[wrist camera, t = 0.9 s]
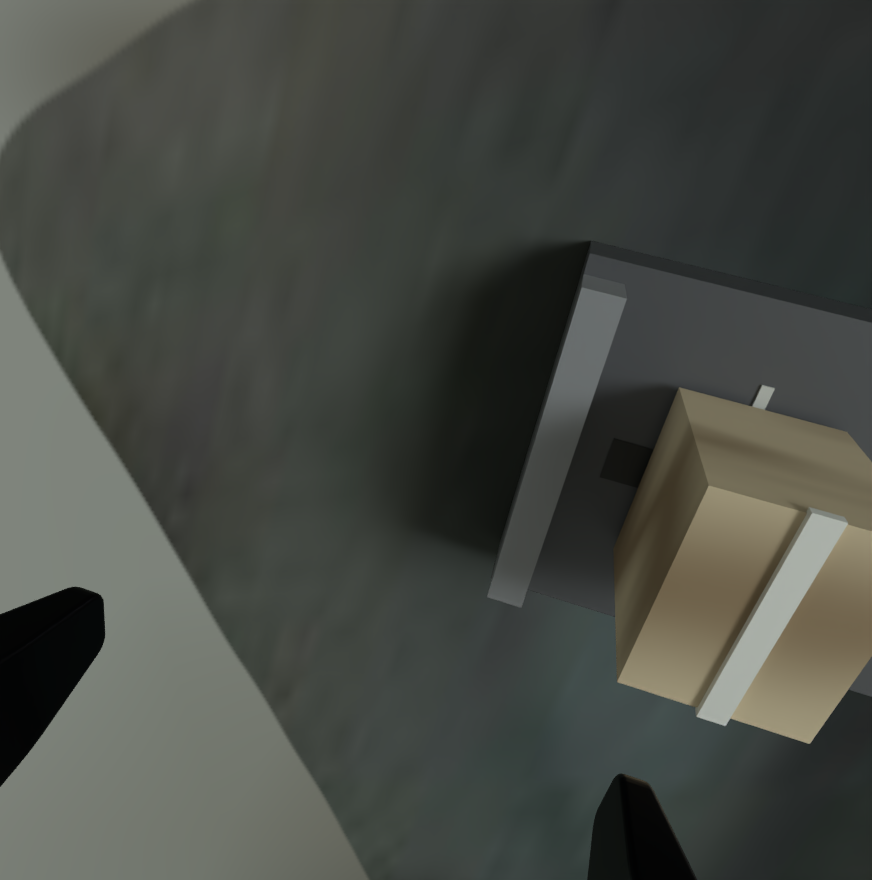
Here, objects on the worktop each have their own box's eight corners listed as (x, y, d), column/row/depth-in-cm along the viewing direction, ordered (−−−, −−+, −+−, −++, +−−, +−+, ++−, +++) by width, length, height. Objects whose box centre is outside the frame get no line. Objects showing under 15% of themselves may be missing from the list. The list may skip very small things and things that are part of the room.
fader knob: (756, 594, 18) (809, 753, 13) (612, 551, 18) (615, 690, 14) (849, 428, 15) (952, 552, 11) (680, 383, 16) (712, 484, 11)
